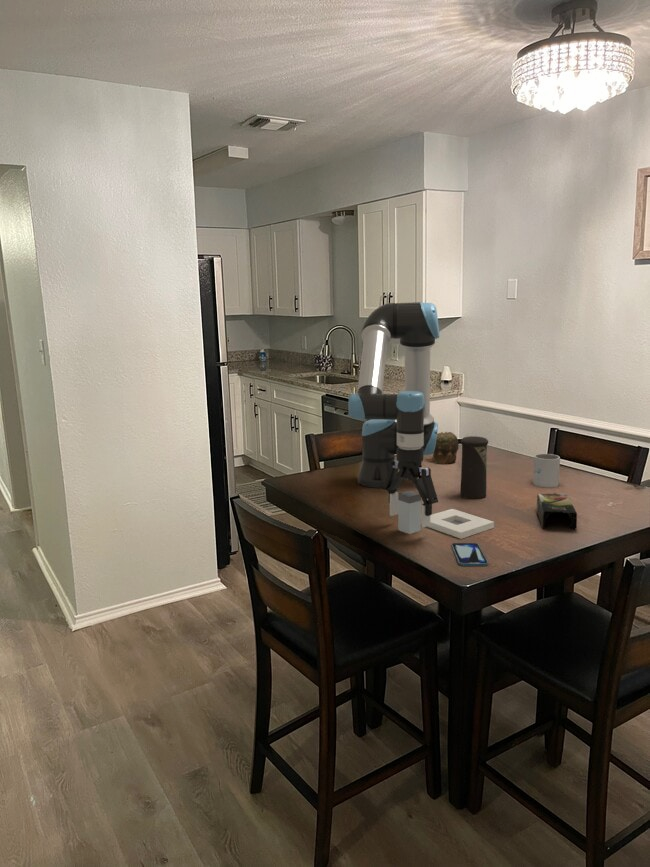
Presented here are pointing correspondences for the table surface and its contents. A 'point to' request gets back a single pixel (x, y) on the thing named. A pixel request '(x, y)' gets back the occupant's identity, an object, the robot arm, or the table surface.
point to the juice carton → (555, 507)
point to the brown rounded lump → (445, 448)
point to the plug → (409, 512)
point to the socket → (459, 523)
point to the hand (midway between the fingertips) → (409, 520)
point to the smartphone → (469, 554)
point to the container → (473, 467)
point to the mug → (546, 470)
